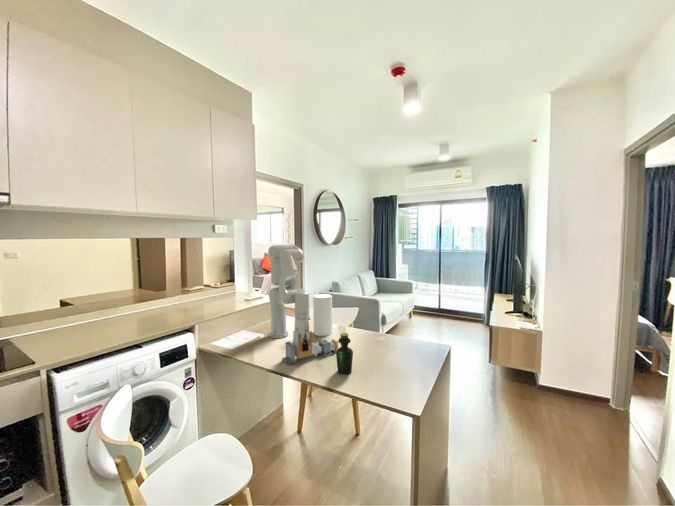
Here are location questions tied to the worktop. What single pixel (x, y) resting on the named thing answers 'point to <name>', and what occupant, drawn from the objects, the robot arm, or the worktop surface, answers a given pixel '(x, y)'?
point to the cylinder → (322, 314)
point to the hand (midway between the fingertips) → (302, 348)
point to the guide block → (325, 348)
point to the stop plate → (289, 354)
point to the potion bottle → (344, 355)
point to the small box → (298, 345)
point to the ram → (319, 347)
